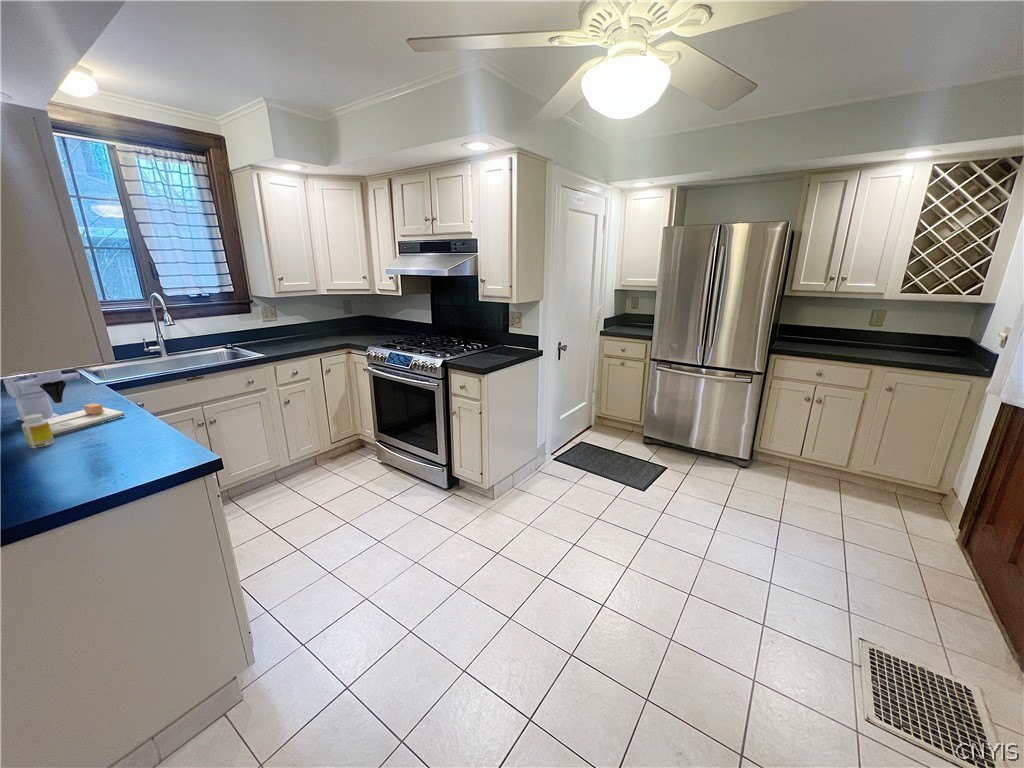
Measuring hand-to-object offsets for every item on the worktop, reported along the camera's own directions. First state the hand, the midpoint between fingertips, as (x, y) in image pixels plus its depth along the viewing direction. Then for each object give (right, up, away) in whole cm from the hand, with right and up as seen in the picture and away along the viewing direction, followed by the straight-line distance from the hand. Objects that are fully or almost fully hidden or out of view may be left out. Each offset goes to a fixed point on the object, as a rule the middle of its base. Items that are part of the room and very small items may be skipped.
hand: (58, 402), depth 145 cm
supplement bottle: (+10, -14, -14) cm, 22 cm away
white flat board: (+3, -8, +4) cm, 9 cm away
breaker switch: (+5, -5, +8) cm, 11 cm away
